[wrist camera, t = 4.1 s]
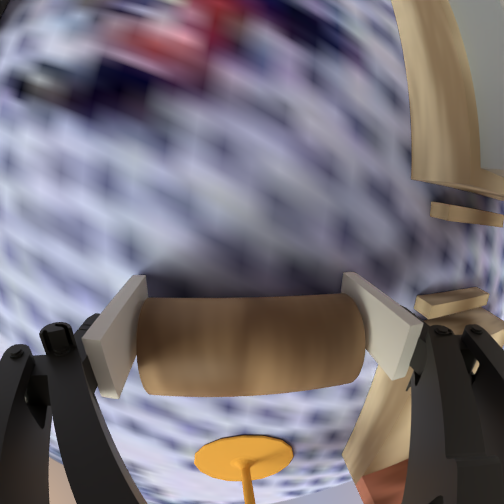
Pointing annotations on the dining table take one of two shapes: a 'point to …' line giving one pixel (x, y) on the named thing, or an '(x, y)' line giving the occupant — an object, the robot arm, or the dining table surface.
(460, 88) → the track
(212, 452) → the cup
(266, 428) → the dining table surface
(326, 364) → the roller
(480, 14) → the slab
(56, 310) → the dining table surface
